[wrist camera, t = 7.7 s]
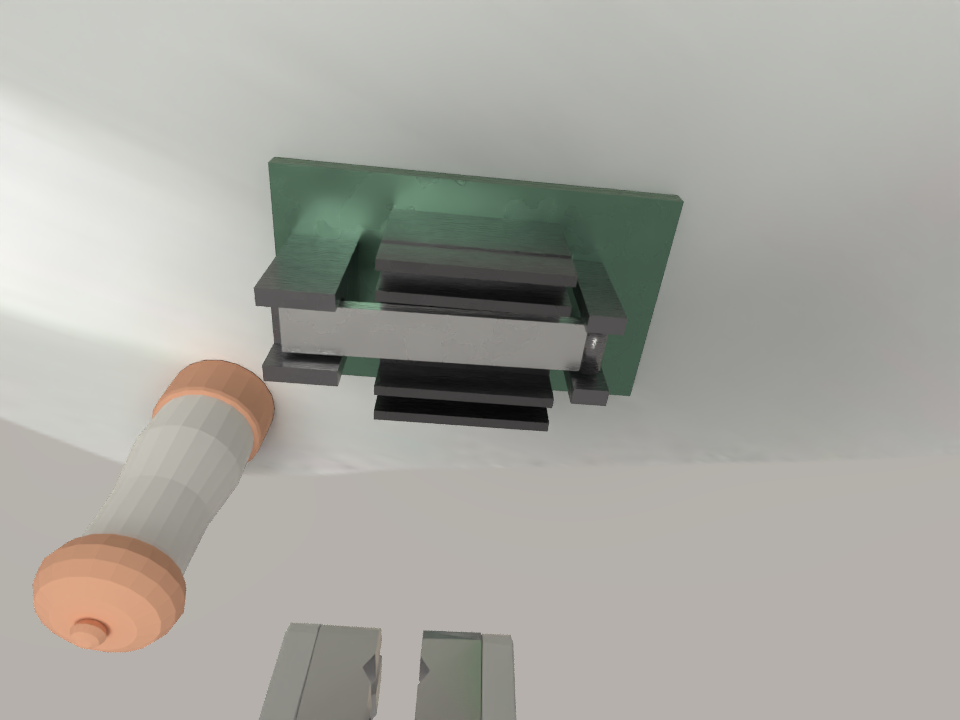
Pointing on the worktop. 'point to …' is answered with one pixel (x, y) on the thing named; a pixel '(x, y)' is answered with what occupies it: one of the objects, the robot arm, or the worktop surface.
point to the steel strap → (444, 336)
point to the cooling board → (465, 278)
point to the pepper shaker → (156, 513)
